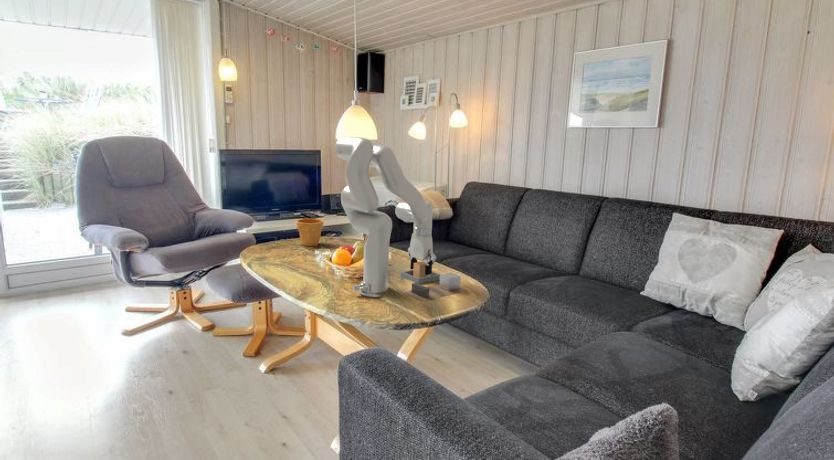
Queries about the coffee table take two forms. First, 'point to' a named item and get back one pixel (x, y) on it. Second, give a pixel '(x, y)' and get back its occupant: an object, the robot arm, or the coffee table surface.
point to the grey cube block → (450, 281)
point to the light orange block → (419, 270)
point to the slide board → (430, 292)
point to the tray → (410, 277)
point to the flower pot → (309, 231)
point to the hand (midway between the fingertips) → (420, 271)
